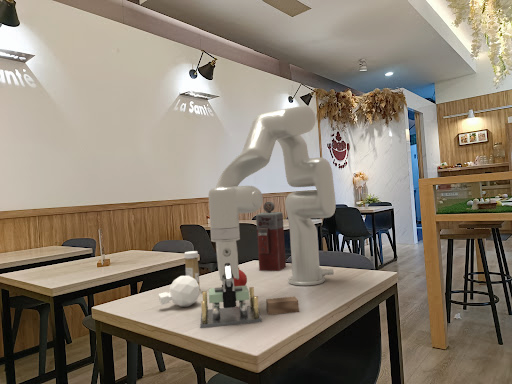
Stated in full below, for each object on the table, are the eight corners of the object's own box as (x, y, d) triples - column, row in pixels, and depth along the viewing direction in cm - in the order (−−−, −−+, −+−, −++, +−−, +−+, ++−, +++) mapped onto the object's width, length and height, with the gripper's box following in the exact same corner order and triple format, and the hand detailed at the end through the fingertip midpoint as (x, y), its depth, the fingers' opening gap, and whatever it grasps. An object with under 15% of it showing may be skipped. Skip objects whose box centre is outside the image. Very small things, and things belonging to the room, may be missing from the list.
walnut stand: (295, 307, 105) (295, 296, 105) (298, 311, 101) (298, 300, 101) (266, 310, 104) (266, 299, 104) (268, 314, 100) (268, 303, 100)
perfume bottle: (194, 292, 120) (157, 304, 115) (192, 266, 117) (154, 277, 112) (205, 306, 113) (166, 320, 108) (203, 279, 110) (163, 292, 105)
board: (246, 292, 104) (246, 283, 104) (249, 299, 97) (248, 289, 97) (209, 296, 103) (209, 286, 103) (209, 303, 96) (208, 292, 96)
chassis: (256, 307, 107) (254, 286, 107) (261, 321, 95) (260, 297, 95) (201, 313, 105) (200, 291, 105) (200, 327, 93) (198, 303, 93)
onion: (226, 292, 126) (224, 267, 126) (238, 288, 130) (237, 264, 130) (238, 294, 122) (237, 269, 122) (251, 290, 126) (249, 266, 126)
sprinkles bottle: (202, 291, 129) (200, 251, 129) (189, 294, 126) (187, 253, 126) (196, 289, 132) (194, 250, 133) (184, 291, 130) (182, 252, 130)
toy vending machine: (257, 271, 156) (252, 203, 156) (266, 266, 166) (262, 201, 167) (278, 272, 153) (273, 201, 153) (286, 266, 163) (282, 200, 163)
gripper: (242, 237, 92) (246, 311, 91) (237, 230, 109) (241, 293, 109) (210, 239, 91) (214, 314, 91) (210, 232, 108) (214, 295, 108)
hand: (229, 302), depth 100 cm, fingers closed on board, 7 cm apart
